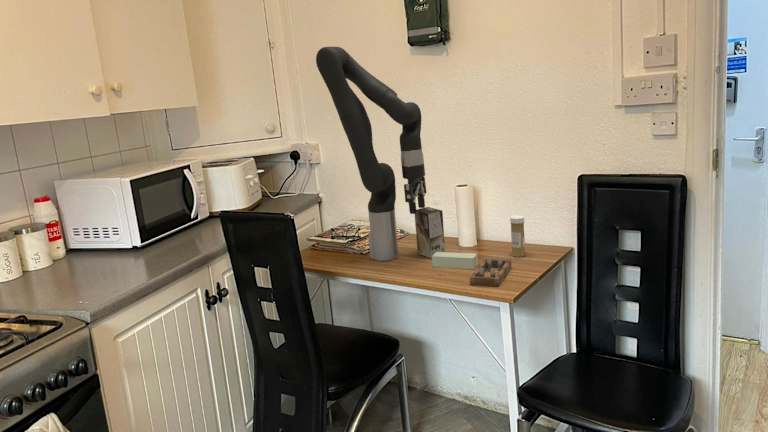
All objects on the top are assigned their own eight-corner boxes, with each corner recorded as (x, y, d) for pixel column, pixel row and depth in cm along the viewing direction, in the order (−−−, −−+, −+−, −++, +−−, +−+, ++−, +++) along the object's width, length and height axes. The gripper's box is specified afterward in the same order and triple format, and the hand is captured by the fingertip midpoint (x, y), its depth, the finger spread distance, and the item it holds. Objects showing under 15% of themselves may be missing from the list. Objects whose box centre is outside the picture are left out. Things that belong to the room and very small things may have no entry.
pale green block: (432, 267, 204) (431, 256, 203) (437, 263, 209) (436, 251, 208) (473, 270, 199) (473, 258, 198) (477, 265, 203) (477, 253, 202)
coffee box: (446, 255, 216) (443, 210, 212) (431, 259, 213) (428, 213, 209) (431, 249, 224) (428, 206, 220) (416, 253, 221) (413, 209, 217)
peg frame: (498, 286, 181) (498, 273, 180) (470, 284, 185) (469, 272, 184) (511, 267, 197) (510, 255, 196) (484, 266, 201) (484, 254, 200)
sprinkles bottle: (528, 255, 208) (527, 216, 205) (518, 258, 206) (517, 218, 203) (518, 252, 212) (517, 214, 209) (508, 255, 210) (507, 216, 207)
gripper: (409, 160, 214) (414, 206, 218) (394, 167, 201) (399, 215, 205) (430, 159, 211) (434, 205, 215) (415, 166, 198) (420, 215, 202)
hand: (417, 210), depth 210 cm, fingers open, 8 cm apart
